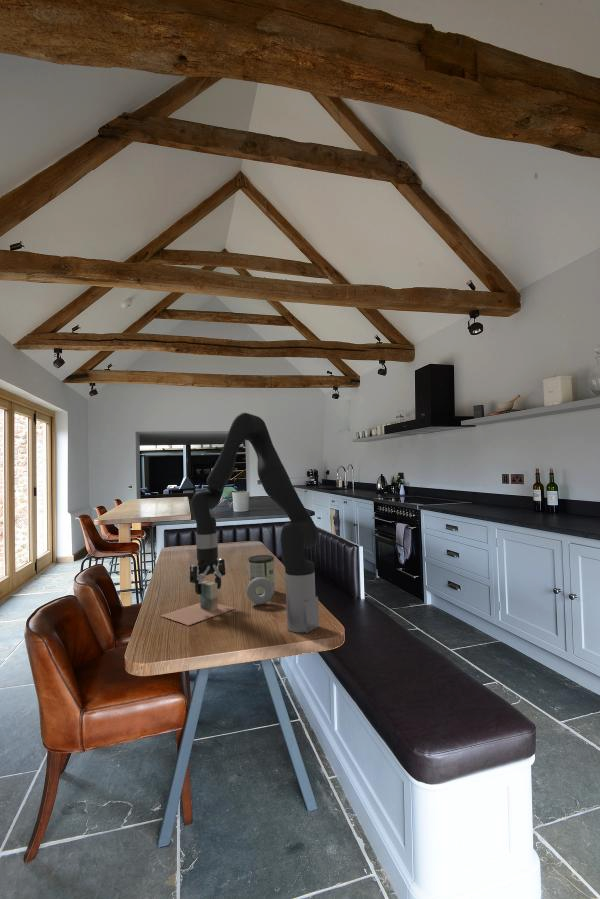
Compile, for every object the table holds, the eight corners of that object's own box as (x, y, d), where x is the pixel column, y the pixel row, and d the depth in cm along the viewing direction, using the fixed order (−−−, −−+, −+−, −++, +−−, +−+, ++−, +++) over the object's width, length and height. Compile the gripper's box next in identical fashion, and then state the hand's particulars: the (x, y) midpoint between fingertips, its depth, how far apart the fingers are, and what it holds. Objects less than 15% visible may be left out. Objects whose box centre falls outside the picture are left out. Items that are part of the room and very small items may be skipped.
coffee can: (252, 589, 183) (251, 554, 184) (277, 589, 182) (276, 554, 182) (246, 596, 173) (245, 560, 174) (272, 596, 172) (271, 560, 172)
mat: (234, 609, 158) (234, 608, 158) (188, 626, 143) (188, 625, 143) (206, 601, 168) (206, 600, 168) (160, 616, 153) (160, 615, 153)
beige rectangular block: (217, 608, 159) (217, 583, 159) (210, 610, 156) (209, 585, 156) (207, 605, 163) (206, 580, 163) (199, 607, 160) (199, 582, 160)
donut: (247, 607, 160) (246, 579, 161) (246, 604, 164) (246, 577, 164) (274, 604, 162) (273, 577, 162) (273, 602, 165) (272, 575, 165)
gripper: (197, 550, 152) (199, 598, 151) (229, 543, 163) (230, 588, 162) (184, 548, 157) (185, 594, 156) (215, 542, 168) (217, 585, 167)
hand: (208, 591), depth 159 cm, fingers open, 8 cm apart
